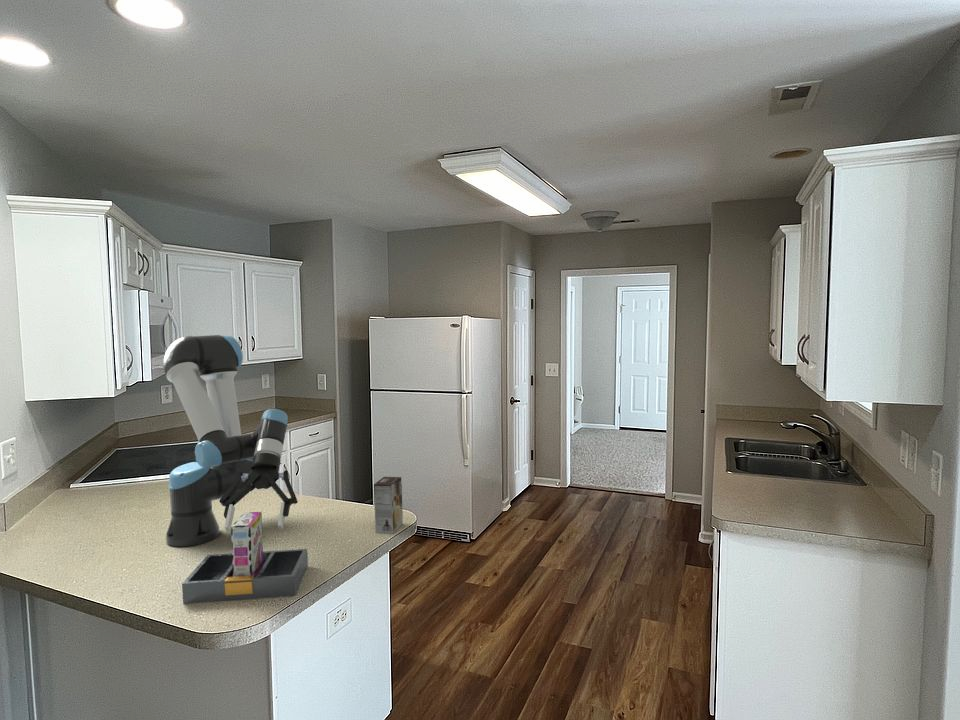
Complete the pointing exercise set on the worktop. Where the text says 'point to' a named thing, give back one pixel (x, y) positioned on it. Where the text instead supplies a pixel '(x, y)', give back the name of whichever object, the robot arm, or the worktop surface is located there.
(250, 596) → the bay rack
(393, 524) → the coffee box
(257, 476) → the robot arm
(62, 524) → the worktop surface
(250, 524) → the candy bar box
